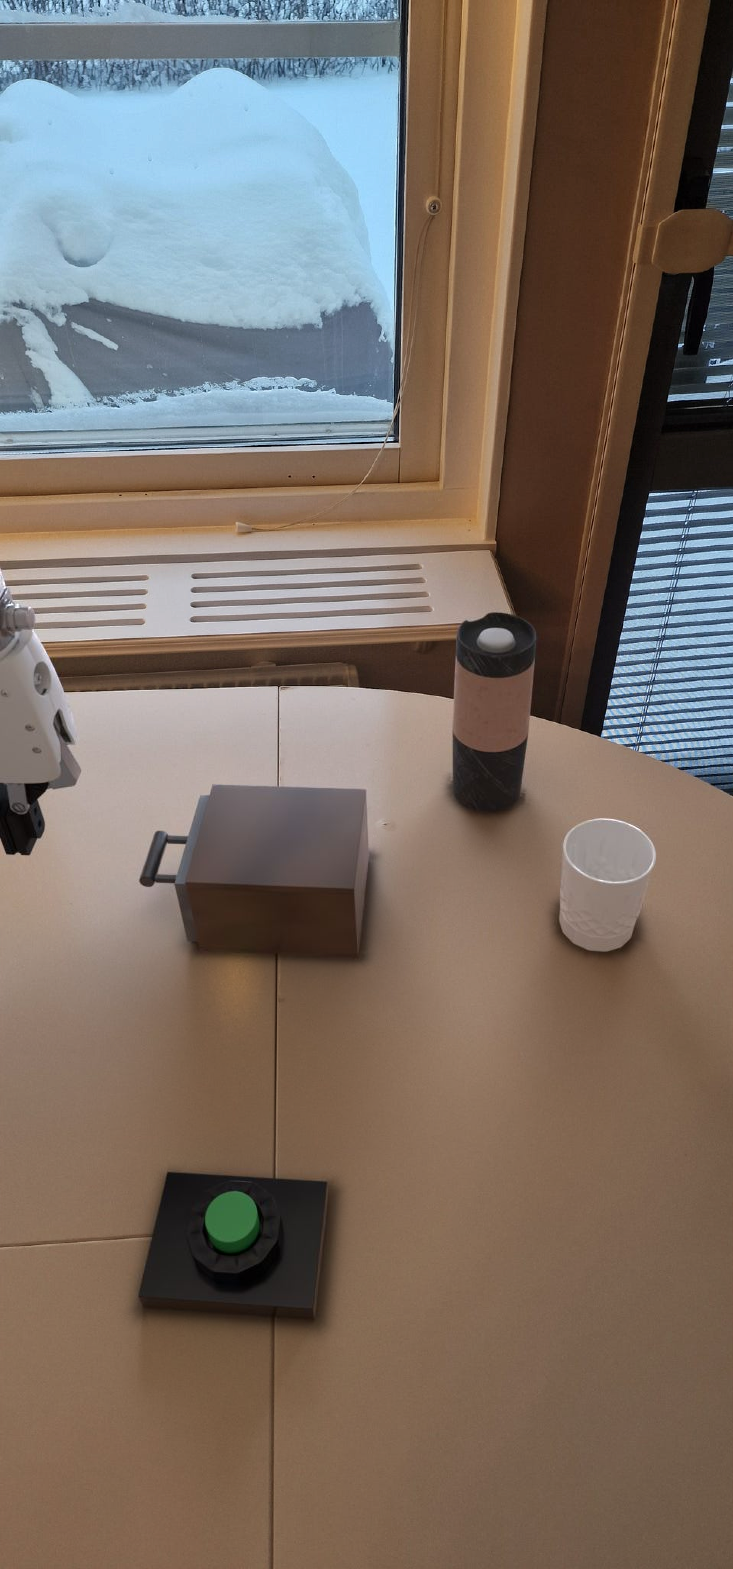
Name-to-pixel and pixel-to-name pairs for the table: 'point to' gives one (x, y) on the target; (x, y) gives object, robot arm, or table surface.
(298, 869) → the cabinet
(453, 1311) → the table surface
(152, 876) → the drawer
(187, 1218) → the control block
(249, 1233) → the button
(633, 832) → the white cup
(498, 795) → the travel mug
